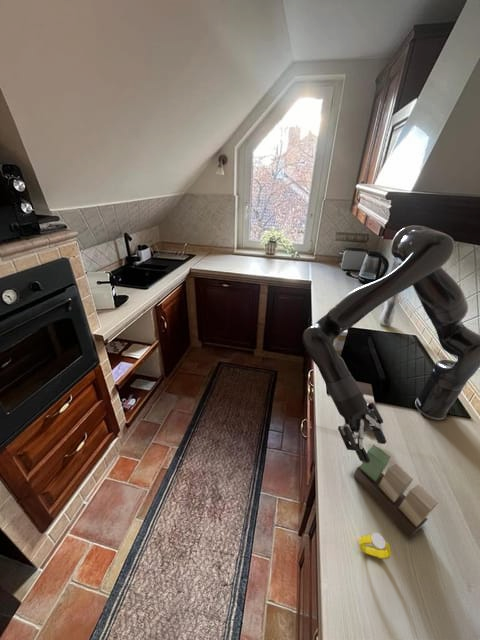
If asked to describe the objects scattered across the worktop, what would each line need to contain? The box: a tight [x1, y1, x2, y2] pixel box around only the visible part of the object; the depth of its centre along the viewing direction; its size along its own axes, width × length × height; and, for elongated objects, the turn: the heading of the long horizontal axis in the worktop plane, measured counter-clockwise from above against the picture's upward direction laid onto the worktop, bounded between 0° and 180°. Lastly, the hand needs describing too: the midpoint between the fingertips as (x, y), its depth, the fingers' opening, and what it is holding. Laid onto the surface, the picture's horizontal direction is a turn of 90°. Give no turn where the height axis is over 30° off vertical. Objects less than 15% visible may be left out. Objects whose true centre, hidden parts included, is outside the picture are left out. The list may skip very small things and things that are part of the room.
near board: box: [355, 380, 377, 434], centre depth 91 cm, size 24×10×9 cm, turn 163°
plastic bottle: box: [378, 292, 401, 327], centre depth 140 cm, size 6×7×20 cm
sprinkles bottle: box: [332, 329, 349, 356], centre depth 117 cm, size 5×5×13 cm
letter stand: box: [353, 462, 439, 539], centre depth 63 cm, size 5×16×12 cm, turn 28°
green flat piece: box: [360, 444, 391, 482], centre depth 66 cm, size 3×4×8 cm
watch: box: [358, 532, 392, 560], centre depth 55 cm, size 6×3×6 cm, turn 72°
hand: (374, 452), depth 65 cm, fingers open, 8 cm apart
